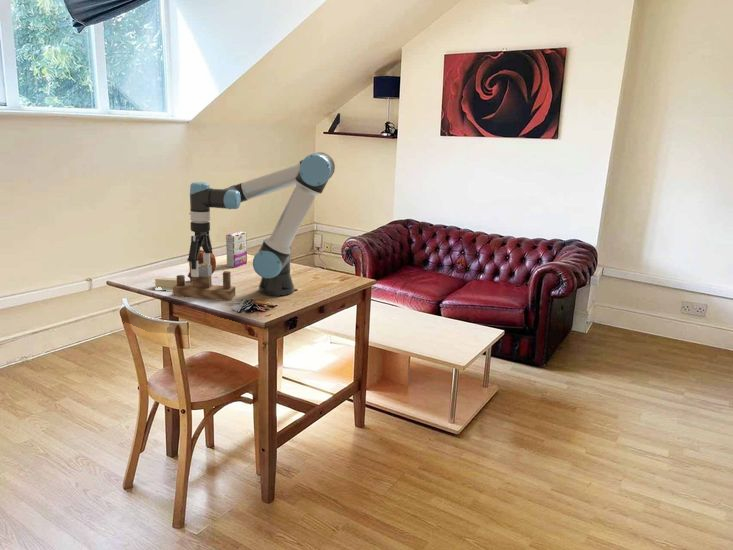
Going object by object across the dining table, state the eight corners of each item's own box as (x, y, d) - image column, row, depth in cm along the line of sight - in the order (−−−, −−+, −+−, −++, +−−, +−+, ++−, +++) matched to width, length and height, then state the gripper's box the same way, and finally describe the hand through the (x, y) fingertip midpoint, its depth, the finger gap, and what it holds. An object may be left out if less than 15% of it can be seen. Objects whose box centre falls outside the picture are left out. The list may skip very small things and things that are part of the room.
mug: (183, 281, 255) (182, 249, 251) (196, 278, 262) (195, 246, 258) (208, 287, 248) (207, 254, 244) (221, 283, 255) (220, 250, 251)
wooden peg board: (235, 295, 239) (235, 270, 236) (230, 300, 232) (229, 274, 229) (179, 291, 240) (179, 266, 237) (173, 296, 233) (172, 270, 231)
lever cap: (211, 274, 236) (211, 263, 234) (208, 277, 231) (207, 265, 230) (195, 273, 236) (195, 262, 235) (191, 275, 232) (191, 264, 231)
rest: (184, 285, 250) (183, 276, 248) (174, 291, 240) (174, 282, 239) (162, 283, 250) (161, 275, 249) (151, 290, 241) (151, 281, 240)
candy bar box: (239, 262, 294) (238, 231, 290) (247, 263, 292) (247, 232, 288) (226, 266, 284) (225, 234, 280) (234, 268, 282) (234, 235, 278)
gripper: (202, 215, 240) (202, 264, 246) (178, 225, 216) (180, 279, 222) (219, 217, 240) (219, 265, 245) (197, 227, 216) (198, 281, 221)
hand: (200, 272), depth 234 cm, fingers open, 13 cm apart
